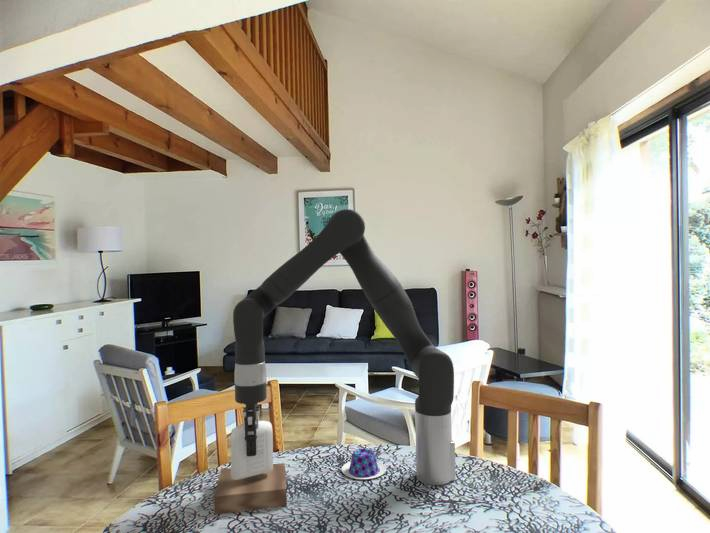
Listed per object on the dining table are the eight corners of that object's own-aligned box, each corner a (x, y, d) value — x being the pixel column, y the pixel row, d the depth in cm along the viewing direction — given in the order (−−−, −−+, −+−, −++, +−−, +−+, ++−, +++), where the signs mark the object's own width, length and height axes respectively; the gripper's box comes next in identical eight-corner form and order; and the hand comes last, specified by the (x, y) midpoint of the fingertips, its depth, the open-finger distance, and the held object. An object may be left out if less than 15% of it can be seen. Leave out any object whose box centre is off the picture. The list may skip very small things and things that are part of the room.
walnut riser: (284, 478, 116) (284, 463, 116) (286, 506, 103) (286, 488, 103) (221, 485, 113) (220, 469, 113) (214, 514, 100) (214, 496, 100)
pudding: (351, 459, 128) (351, 441, 128) (391, 465, 124) (391, 446, 124) (334, 477, 117) (334, 457, 117) (377, 485, 112) (377, 464, 112)
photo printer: (269, 465, 113) (268, 415, 113) (276, 471, 109) (274, 420, 109) (229, 475, 107) (227, 424, 107) (234, 482, 103) (233, 429, 104)
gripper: (266, 387, 102) (267, 461, 102) (266, 373, 116) (268, 438, 116) (232, 389, 100) (233, 464, 100) (236, 374, 115) (238, 441, 114)
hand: (252, 450), depth 108 cm, fingers closed on photo printer, 5 cm apart
